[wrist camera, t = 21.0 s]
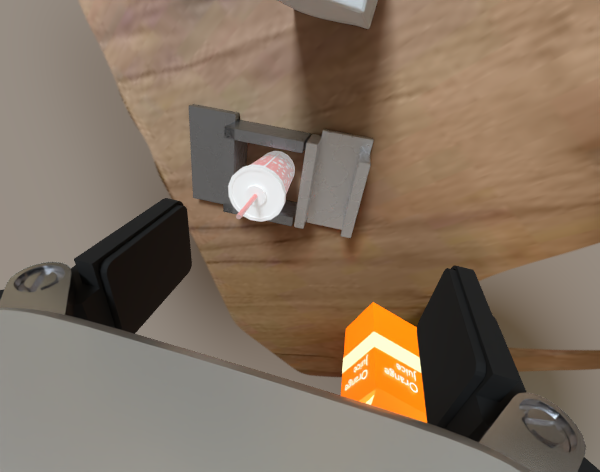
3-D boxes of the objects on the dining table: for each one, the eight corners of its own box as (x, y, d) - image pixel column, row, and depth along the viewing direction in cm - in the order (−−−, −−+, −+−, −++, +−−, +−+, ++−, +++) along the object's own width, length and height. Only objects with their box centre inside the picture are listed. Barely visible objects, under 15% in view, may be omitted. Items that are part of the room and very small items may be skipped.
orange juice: (388, 353, 52) (398, 496, 35) (345, 328, 51) (334, 463, 34) (419, 328, 48) (449, 476, 31) (373, 301, 47) (377, 438, 30)
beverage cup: (250, 182, 41) (202, 233, 29) (259, 137, 37) (210, 174, 25) (293, 197, 40) (263, 254, 29) (306, 153, 37) (279, 198, 25)
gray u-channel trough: (373, 138, 35) (374, 150, 30) (349, 227, 41) (347, 248, 36) (313, 127, 35) (306, 137, 31) (299, 217, 42) (291, 236, 37)
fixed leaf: (311, 126, 35) (305, 134, 32) (297, 216, 42) (290, 231, 38) (193, 104, 37) (173, 109, 33) (197, 194, 43) (180, 207, 39)
